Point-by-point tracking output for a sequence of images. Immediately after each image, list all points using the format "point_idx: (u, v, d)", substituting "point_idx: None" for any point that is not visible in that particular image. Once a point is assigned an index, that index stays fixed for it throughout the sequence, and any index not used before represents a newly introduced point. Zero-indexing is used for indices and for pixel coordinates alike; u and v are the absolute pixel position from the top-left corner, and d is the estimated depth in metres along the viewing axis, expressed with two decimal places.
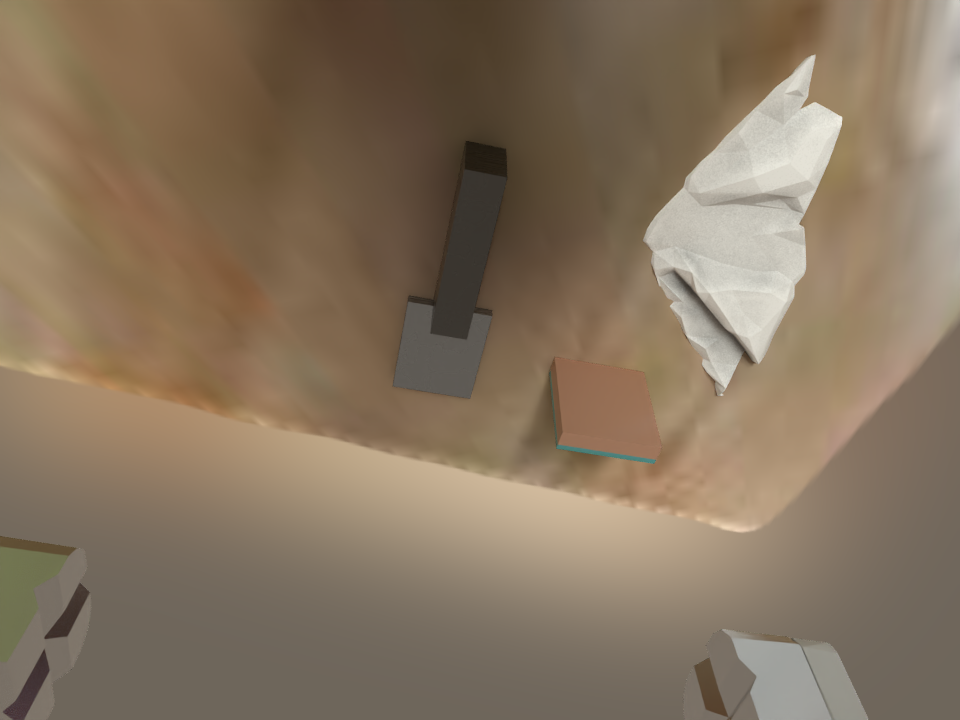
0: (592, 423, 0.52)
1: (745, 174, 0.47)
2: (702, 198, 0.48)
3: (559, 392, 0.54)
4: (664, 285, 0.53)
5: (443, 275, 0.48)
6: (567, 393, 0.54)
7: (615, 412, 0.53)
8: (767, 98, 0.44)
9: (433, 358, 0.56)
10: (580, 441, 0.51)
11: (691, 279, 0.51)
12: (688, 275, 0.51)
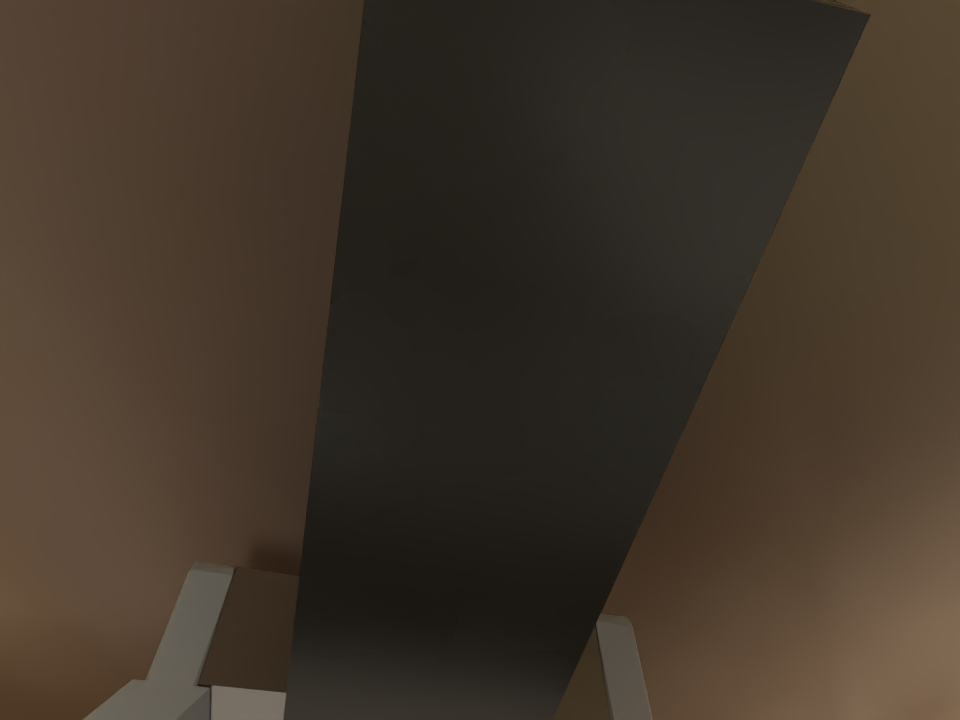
0: None
1: None
2: None
3: None
4: None
5: None
6: None
7: None
8: None
9: None
10: None
11: None
12: None
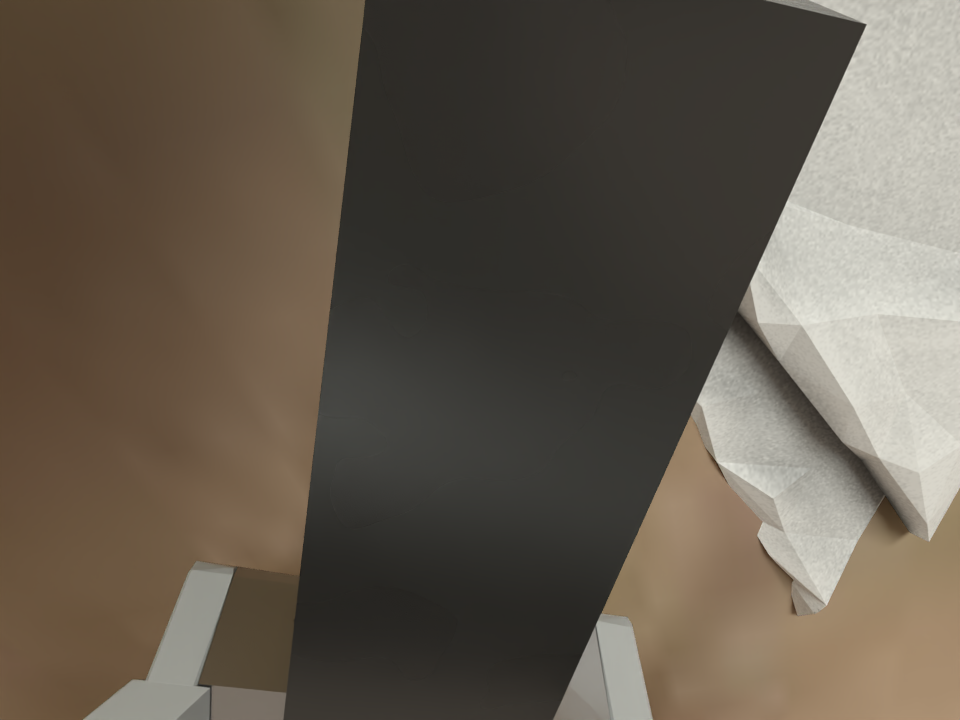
0: None
1: None
2: None
3: None
4: None
5: None
6: None
7: None
8: None
9: None
10: None
11: None
12: None
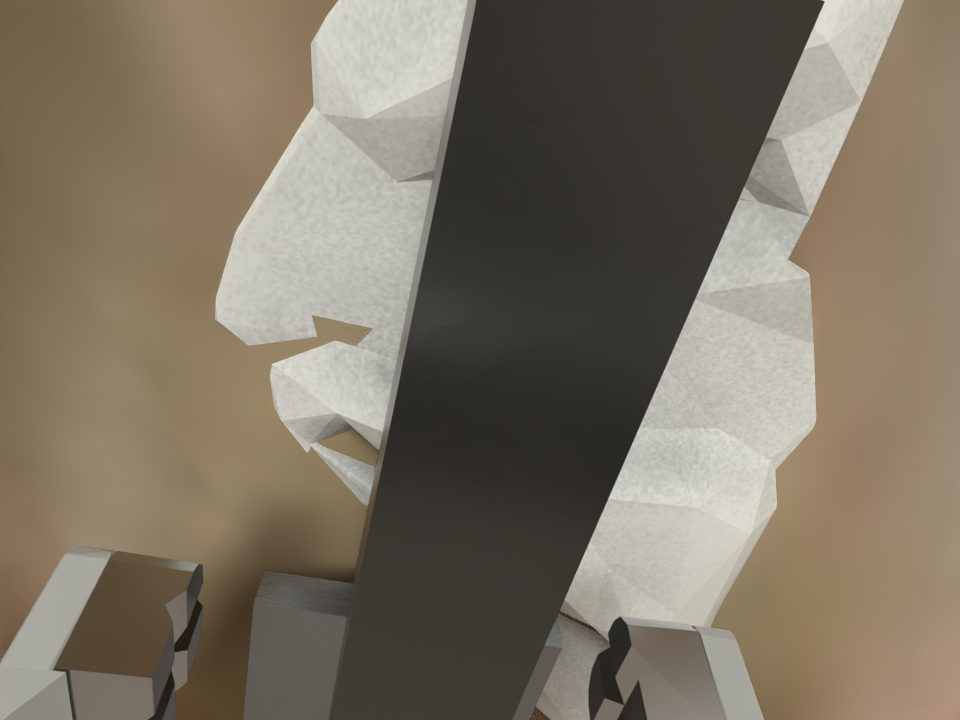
0: None
1: None
2: (386, 144, 0.12)
3: None
4: (337, 471, 0.15)
5: (362, 594, 0.09)
6: None
7: None
8: None
9: None
10: None
11: None
12: None
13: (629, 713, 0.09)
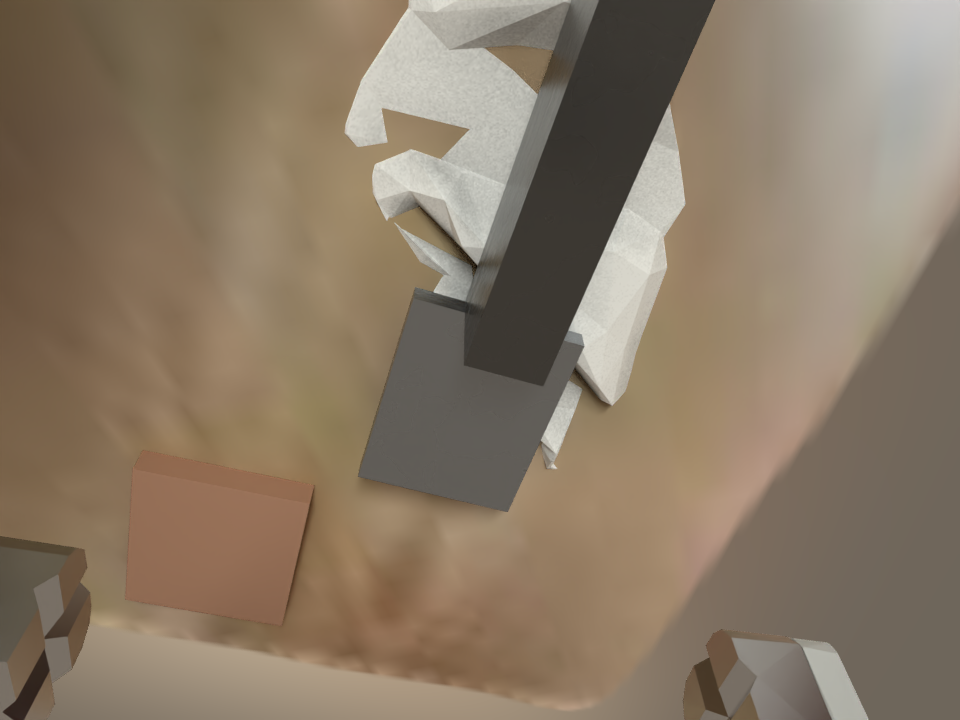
0: (177, 589, 0.34)
1: None
2: (444, 26, 0.22)
3: (130, 538, 0.32)
4: (405, 237, 0.26)
5: (519, 222, 0.20)
6: (145, 541, 0.32)
7: (223, 574, 0.33)
8: None
9: (448, 426, 0.28)
10: None
11: (448, 217, 0.25)
12: (440, 208, 0.25)
13: None
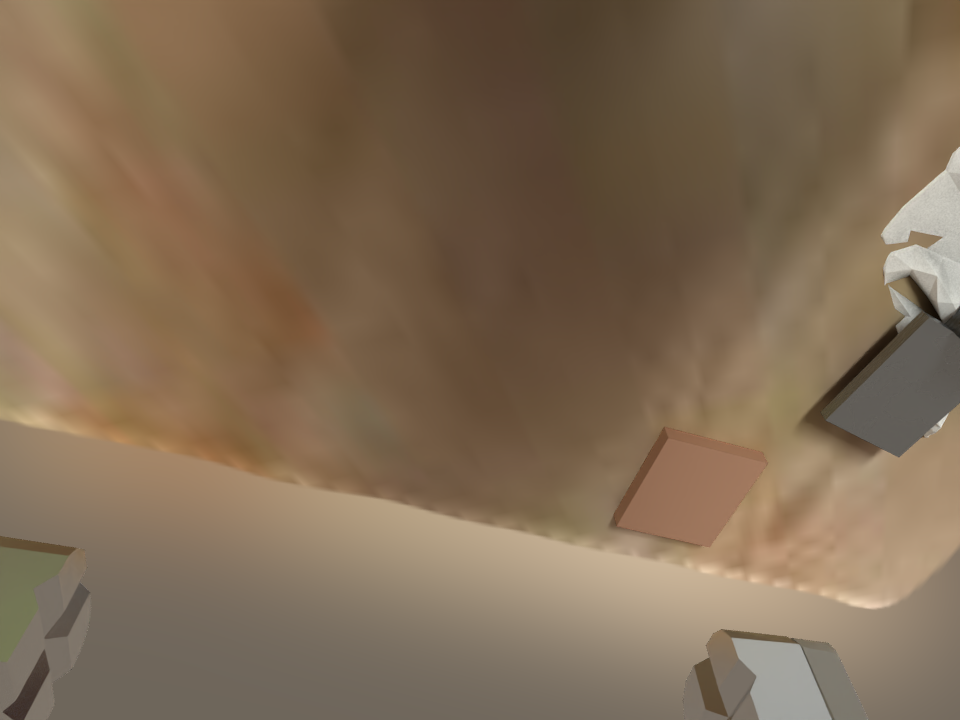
0: (654, 519, 0.51)
1: None
2: None
3: (642, 484, 0.49)
4: (892, 294, 0.43)
5: None
6: (651, 485, 0.49)
7: (689, 509, 0.51)
8: None
9: (899, 397, 0.44)
10: None
11: (933, 285, 0.42)
12: (930, 280, 0.41)
13: None
